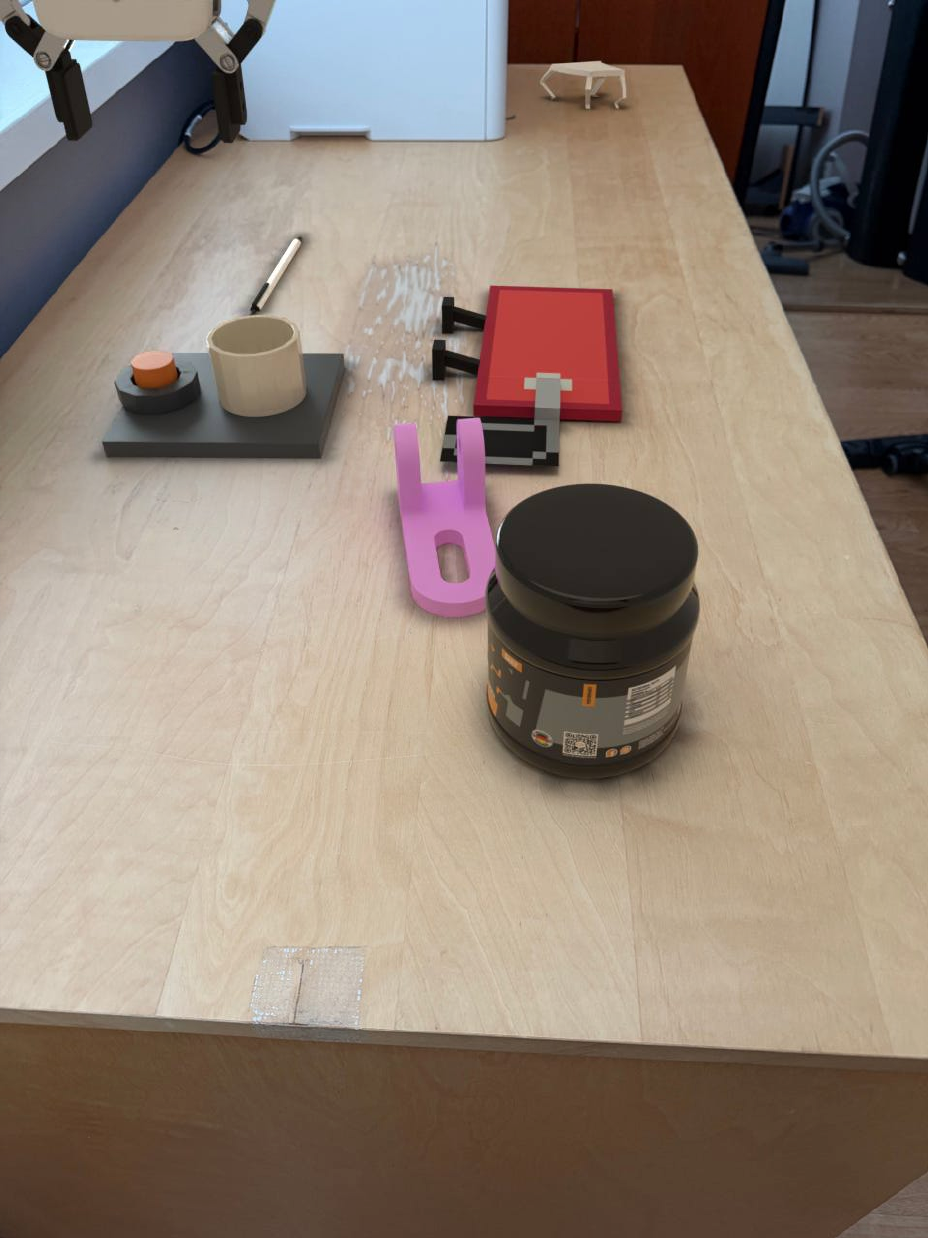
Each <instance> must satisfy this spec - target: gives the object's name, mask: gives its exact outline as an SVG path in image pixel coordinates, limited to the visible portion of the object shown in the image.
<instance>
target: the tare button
mask: <svg viewBox="0 0 928 1238" xmlns="http://www.w3.org/2000/svg"><path fill="white" fill-rule="evenodd" d="M171 353H172V352H169V351H166V350H162V349H161V350H159V349H154V350H153V349H152V350H148V351H144V352H143V351H142V352H141V353H139V354H136V355H135V356H133V358H132V359H131V361H130V365H131V367H132V371H133V375H134V378H135V382H136V385H137V386H138V387H141V388H159V387H163V386H167V385H170V384H171V383H173V382H175V381H177V379H178V375H177V371H176V366H175V362H174V357H173V355H172V354H171Z"/></svg>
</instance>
